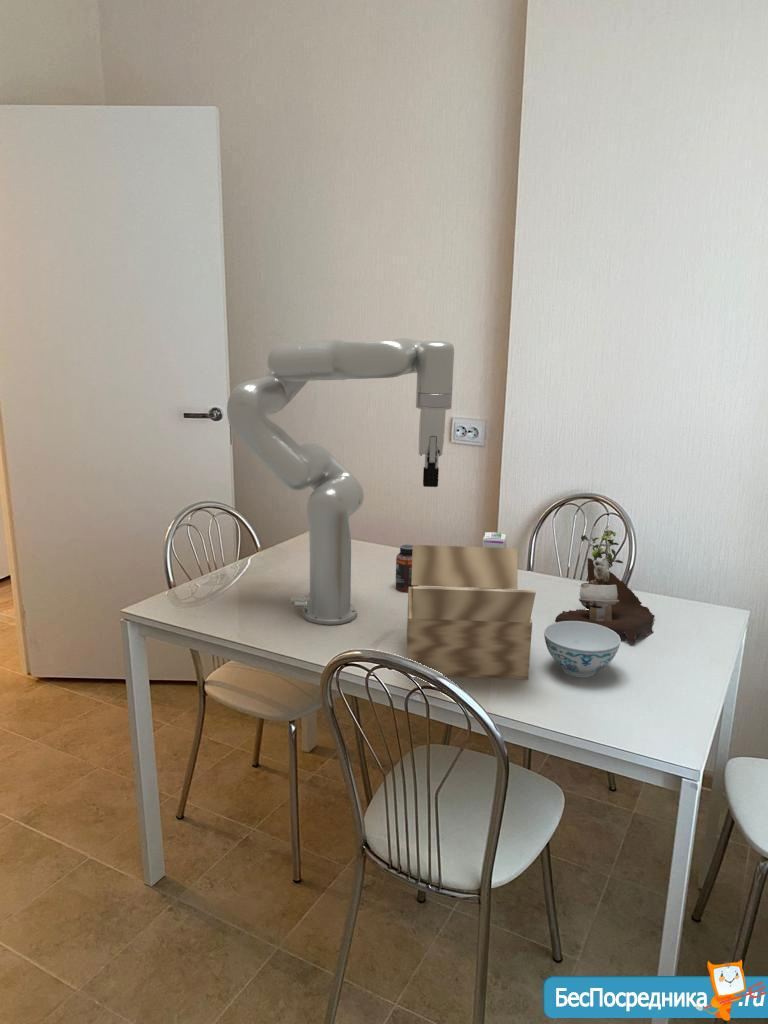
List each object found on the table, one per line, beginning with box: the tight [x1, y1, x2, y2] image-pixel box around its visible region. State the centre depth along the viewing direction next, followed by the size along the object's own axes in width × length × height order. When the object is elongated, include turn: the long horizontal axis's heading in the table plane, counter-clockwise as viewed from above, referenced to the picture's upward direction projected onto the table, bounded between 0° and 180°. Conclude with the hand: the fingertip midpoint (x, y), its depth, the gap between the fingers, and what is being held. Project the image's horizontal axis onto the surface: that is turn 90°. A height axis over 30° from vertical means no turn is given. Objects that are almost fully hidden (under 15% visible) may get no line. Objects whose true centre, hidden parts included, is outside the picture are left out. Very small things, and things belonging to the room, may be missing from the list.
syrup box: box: [480, 531, 507, 589], centre depth 212 cm, size 6×6×14 cm
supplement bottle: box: [395, 544, 419, 593], centre depth 211 cm, size 6×6×11 cm
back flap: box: [411, 544, 519, 590], centre depth 179 cm, size 23×9×1 cm
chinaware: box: [543, 621, 621, 678], centre depth 167 cm, size 15×15×8 cm
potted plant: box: [554, 528, 656, 644], centre depth 193 cm, size 20×19×25 cm
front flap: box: [412, 586, 537, 623], centre depth 157 cm, size 23×9×1 cm
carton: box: [406, 587, 533, 680], centre depth 171 cm, size 24×18×12 cm
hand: (430, 485), depth 179 cm, fingers closed
